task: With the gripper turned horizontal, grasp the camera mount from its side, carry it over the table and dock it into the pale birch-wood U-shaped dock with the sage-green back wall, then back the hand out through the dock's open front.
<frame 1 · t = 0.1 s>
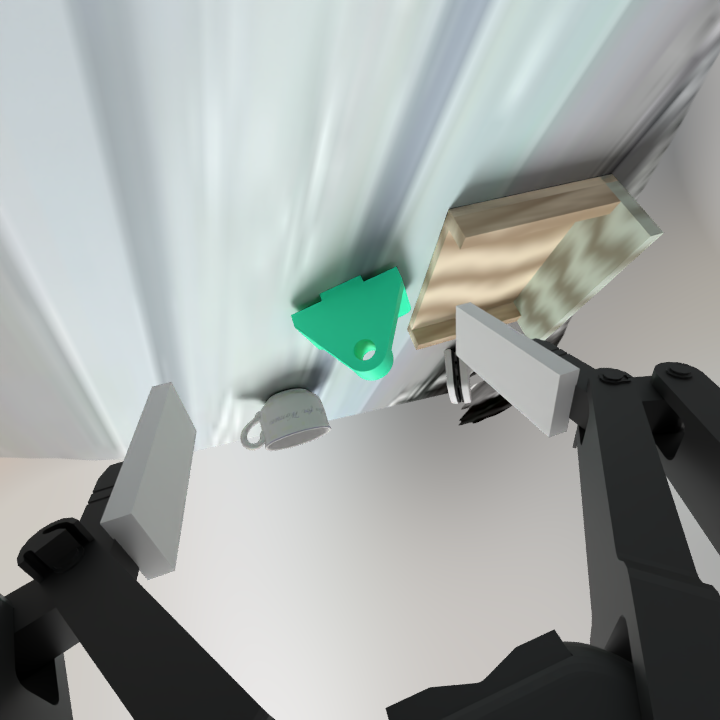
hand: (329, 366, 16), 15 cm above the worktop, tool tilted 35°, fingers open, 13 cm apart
teacup: (278, 395, 60), on the worktop
camera mount: (349, 298, 41), on the worktop
dock: (497, 264, 44), on the worktop
grey rounded piece: (453, 358, 73), on the worktop
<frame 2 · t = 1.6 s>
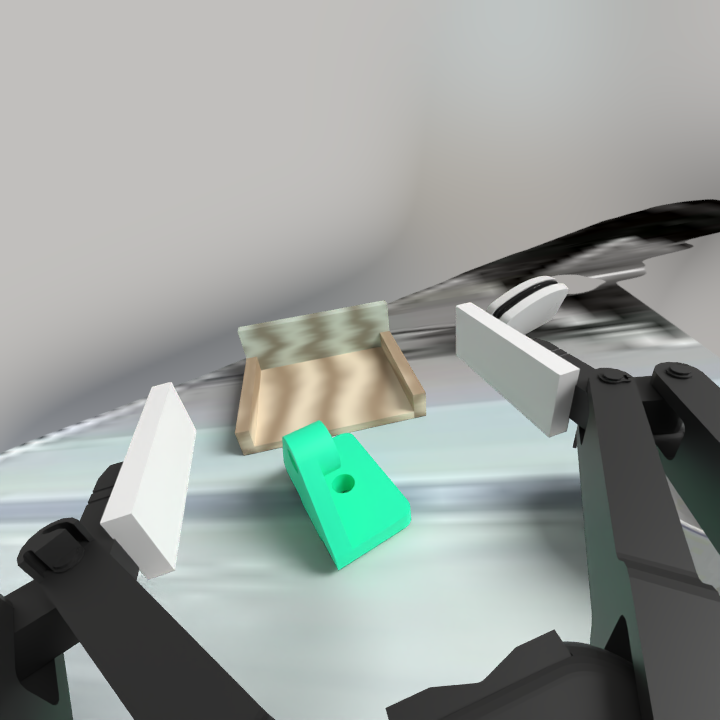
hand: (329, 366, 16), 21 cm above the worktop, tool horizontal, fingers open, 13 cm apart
teacup: (672, 560, 27), on the worktop
camera mount: (347, 502, 35), on the worktop
dock: (327, 387, 51), on the worktop
grey rounded piece: (515, 335, 58), on the worktop
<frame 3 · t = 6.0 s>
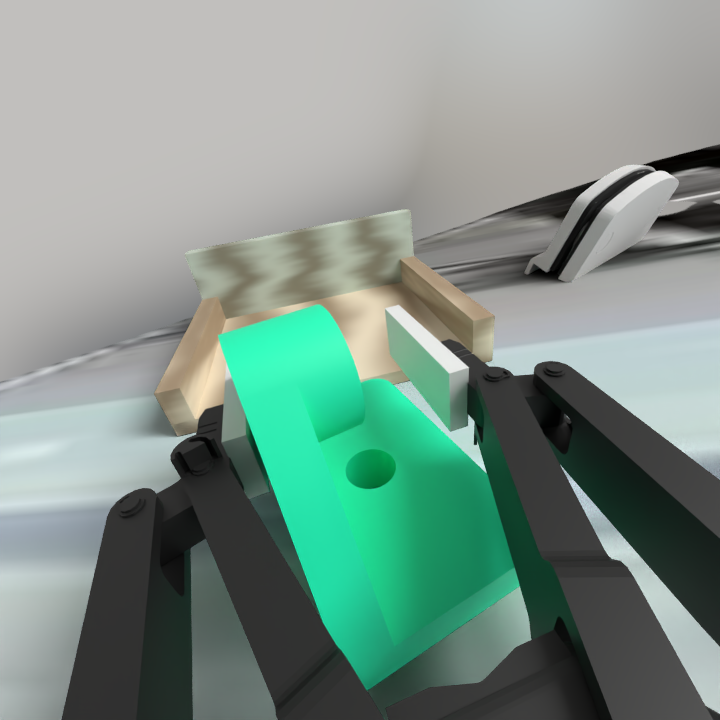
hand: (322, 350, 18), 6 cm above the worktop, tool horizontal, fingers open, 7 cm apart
camera mount: (378, 509, 17), on the worktop, touching gripper
dock: (325, 334, 33), on the worktop
grey rounded piece: (597, 260, 40), on the worktop
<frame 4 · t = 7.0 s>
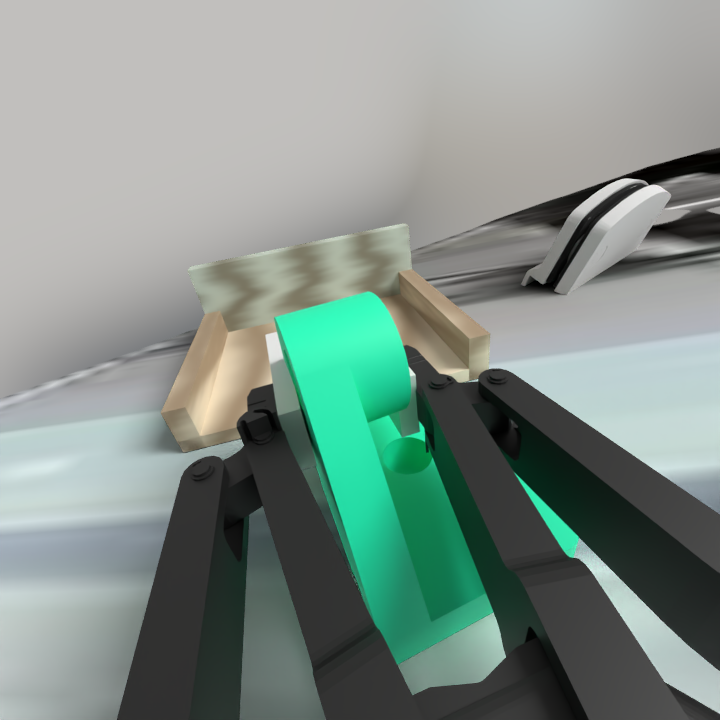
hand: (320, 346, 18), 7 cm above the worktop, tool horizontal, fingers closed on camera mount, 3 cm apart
camera mount: (411, 496, 17), point 1 cm above the worktop, touching gripper
dock: (325, 347, 34), on the worktop
grey rounded piece: (593, 271, 40), on the worktop
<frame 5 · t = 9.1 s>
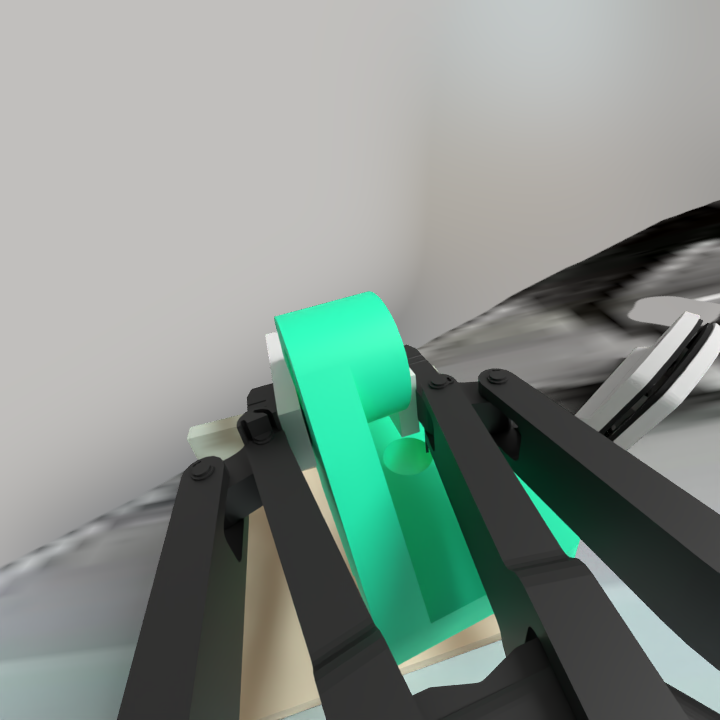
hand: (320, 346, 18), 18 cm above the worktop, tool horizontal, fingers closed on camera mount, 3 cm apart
camera mount: (411, 496, 17), point 12 cm above the worktop, touching gripper
dock: (349, 528, 29), on the worktop
grey rounded piece: (639, 406, 36), on the worktop
when the fingers open (8 cm above the worktop, at t = 12.1 s): camera mount drops 1 cm, resting on dock.
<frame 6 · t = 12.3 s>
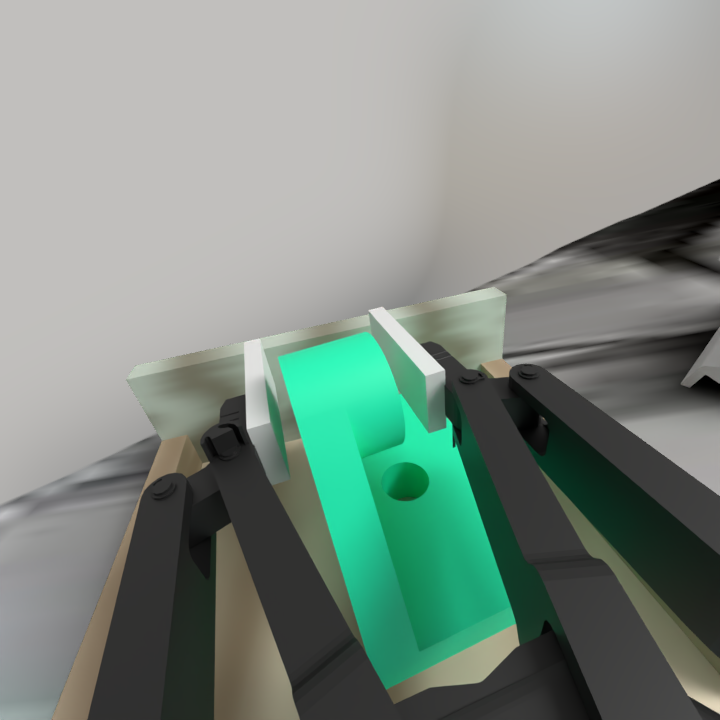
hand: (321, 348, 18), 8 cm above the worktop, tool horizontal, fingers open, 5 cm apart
camera mount: (409, 518, 18), point 1 cm above the worktop, touching dock
dock: (370, 520, 19), on the worktop
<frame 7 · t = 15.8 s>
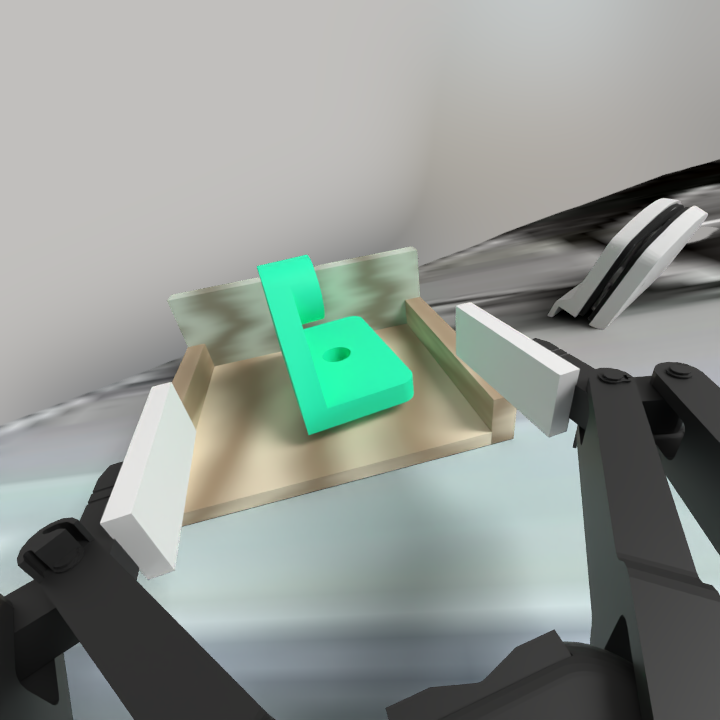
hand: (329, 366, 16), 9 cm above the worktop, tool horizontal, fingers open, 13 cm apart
camera mount: (342, 384, 29), point 1 cm above the worktop, touching dock
dock: (322, 389, 30), on the worktop
grey rounded piece: (622, 298, 37), on the worktop
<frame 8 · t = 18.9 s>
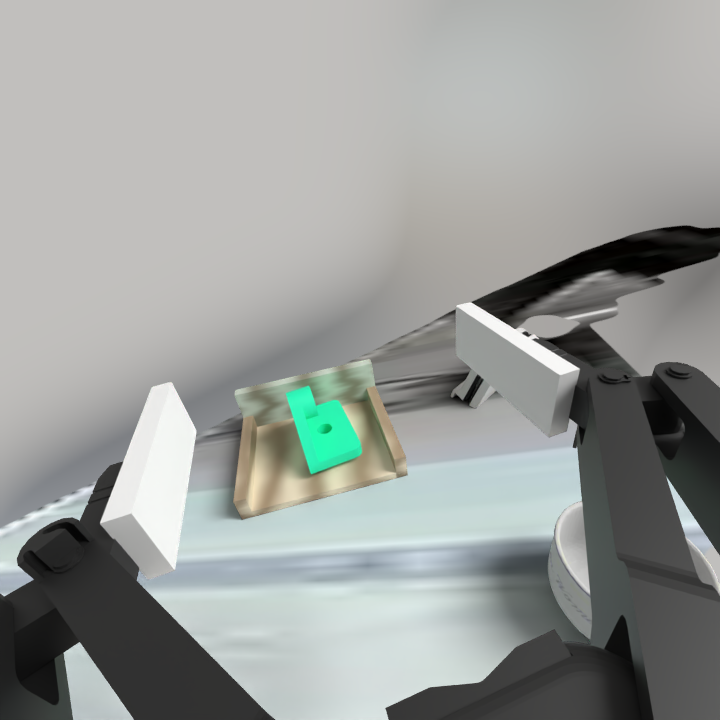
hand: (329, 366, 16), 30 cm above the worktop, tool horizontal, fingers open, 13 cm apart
teacup: (614, 624, 31), on the worktop
camera mount: (328, 442, 54), point 1 cm above the worktop, touching dock
dock: (318, 444, 55), on the worktop
grey rounded piece: (496, 383, 62), on the worktop
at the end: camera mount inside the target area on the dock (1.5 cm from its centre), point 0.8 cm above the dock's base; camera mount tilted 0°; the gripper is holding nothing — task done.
